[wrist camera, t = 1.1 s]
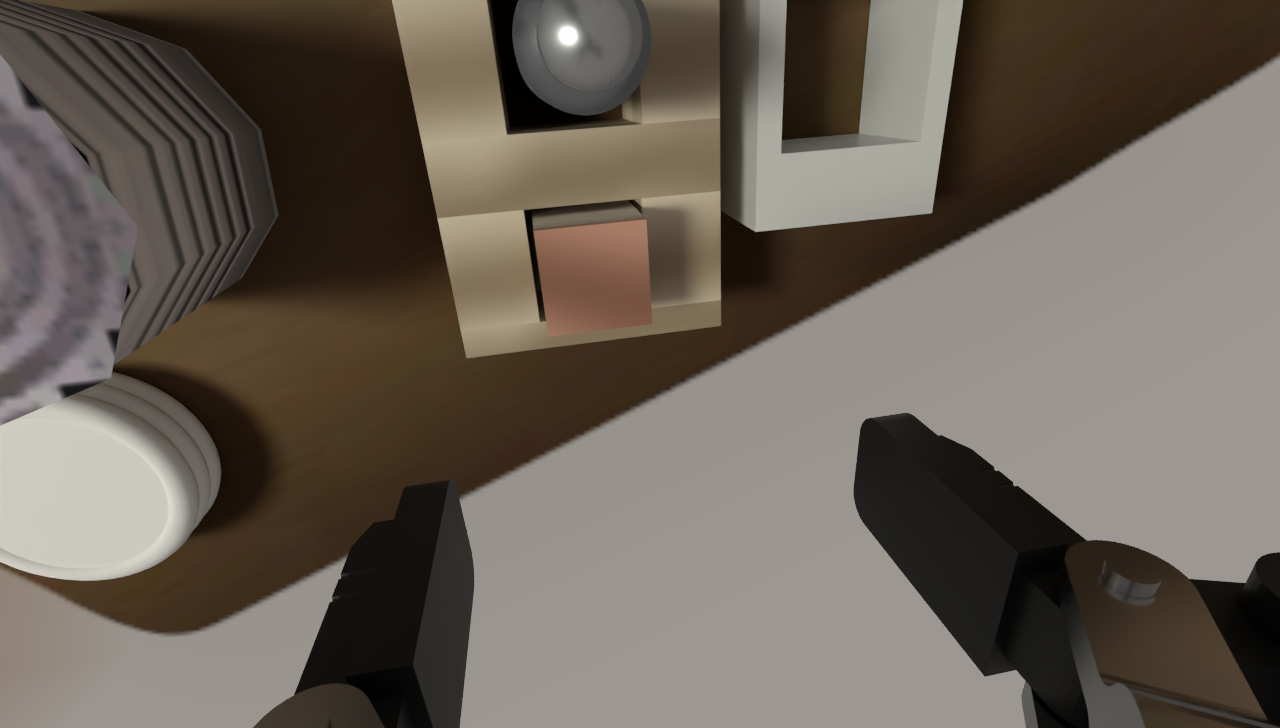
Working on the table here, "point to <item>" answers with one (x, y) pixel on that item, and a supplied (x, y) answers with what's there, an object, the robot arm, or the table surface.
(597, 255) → the key
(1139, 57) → the table surface
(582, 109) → the stepped metal cylinder
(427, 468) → the table surface
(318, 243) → the table surface
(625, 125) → the socket block
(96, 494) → the white round container
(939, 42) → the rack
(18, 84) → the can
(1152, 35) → the table surface
